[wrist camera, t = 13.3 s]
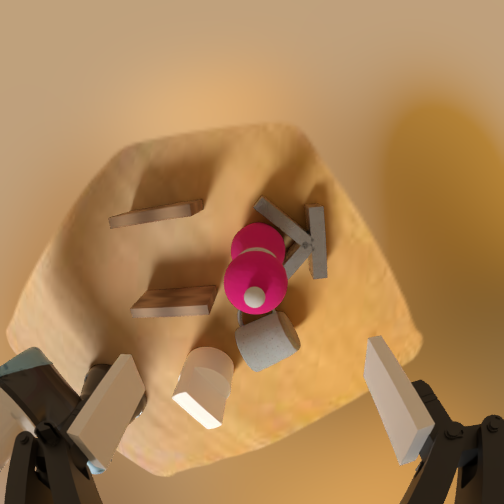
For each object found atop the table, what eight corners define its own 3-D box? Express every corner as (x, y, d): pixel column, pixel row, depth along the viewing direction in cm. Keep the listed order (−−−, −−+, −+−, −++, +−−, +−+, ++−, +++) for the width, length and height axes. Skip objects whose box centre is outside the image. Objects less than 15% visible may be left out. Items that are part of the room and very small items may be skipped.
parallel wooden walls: (149, 298, 45) (132, 317, 38) (130, 211, 41) (108, 218, 34) (217, 294, 44) (209, 314, 37) (201, 199, 40) (189, 204, 33)
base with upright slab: (243, 372, 48) (238, 419, 36) (206, 389, 50) (195, 433, 38) (213, 338, 46) (200, 384, 35) (176, 358, 48) (157, 401, 36)
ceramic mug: (300, 333, 45) (306, 360, 38) (259, 353, 47) (257, 381, 39) (269, 283, 43) (270, 304, 36) (225, 307, 45) (218, 331, 37)
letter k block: (263, 286, 43) (263, 297, 39) (253, 196, 40) (252, 198, 36) (322, 280, 43) (327, 290, 39) (316, 189, 39) (322, 191, 35)
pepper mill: (236, 215, 40) (212, 253, 21) (286, 222, 40) (306, 264, 21) (232, 263, 42) (207, 333, 23) (279, 268, 42) (290, 343, 23)
